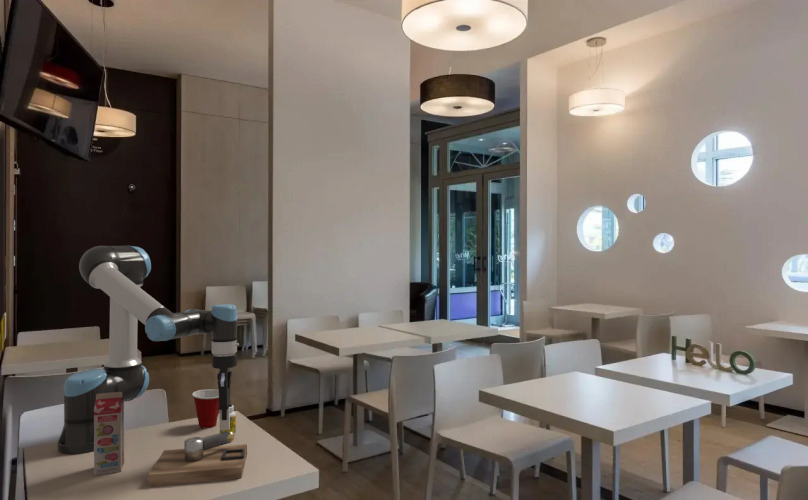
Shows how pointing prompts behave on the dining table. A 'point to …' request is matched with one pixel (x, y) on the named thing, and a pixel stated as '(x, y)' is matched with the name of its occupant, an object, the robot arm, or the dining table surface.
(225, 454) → the lever stand
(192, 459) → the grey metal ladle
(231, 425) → the supplement bottle
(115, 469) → the juice carton
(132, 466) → the dining table surface
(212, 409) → the plastic cup
